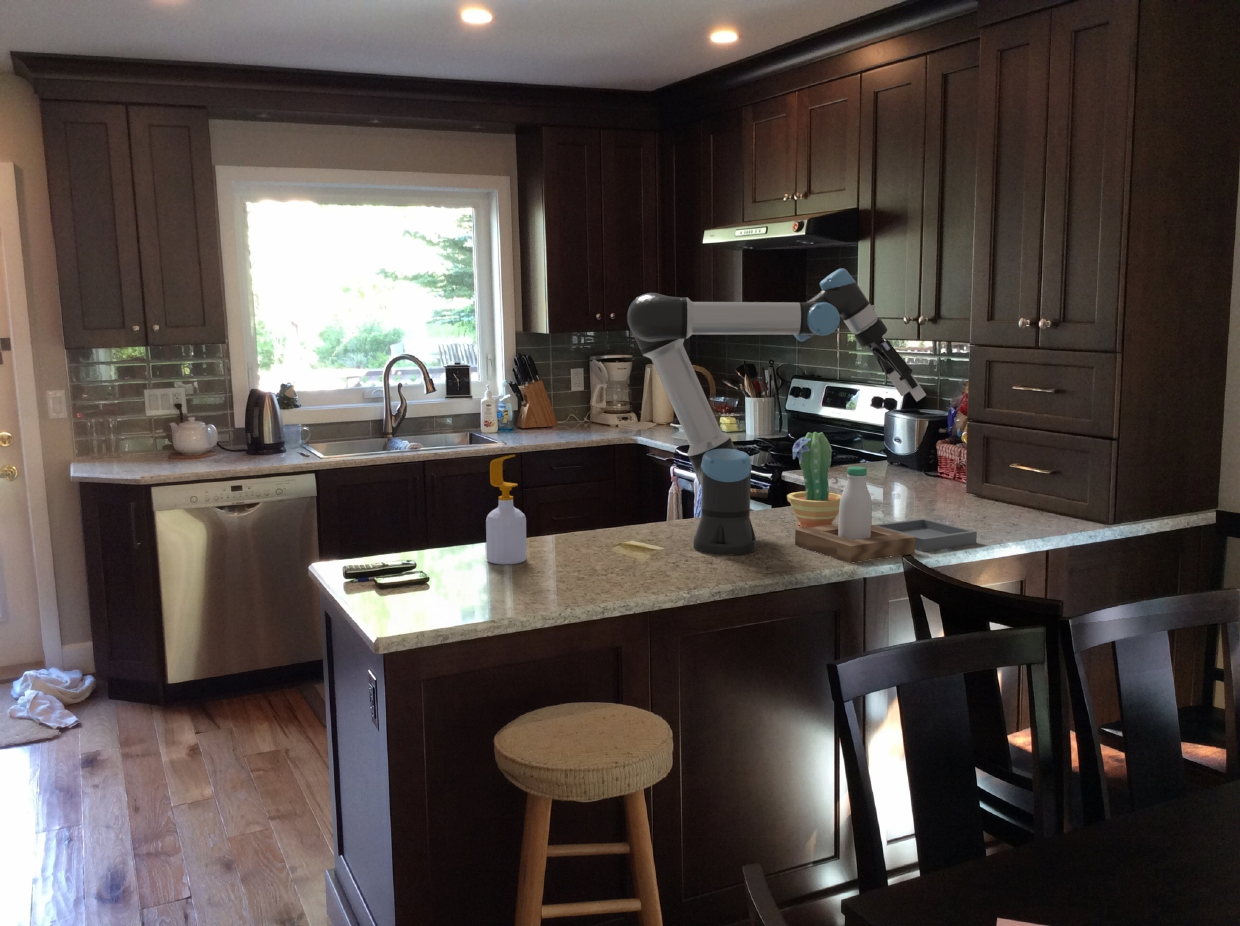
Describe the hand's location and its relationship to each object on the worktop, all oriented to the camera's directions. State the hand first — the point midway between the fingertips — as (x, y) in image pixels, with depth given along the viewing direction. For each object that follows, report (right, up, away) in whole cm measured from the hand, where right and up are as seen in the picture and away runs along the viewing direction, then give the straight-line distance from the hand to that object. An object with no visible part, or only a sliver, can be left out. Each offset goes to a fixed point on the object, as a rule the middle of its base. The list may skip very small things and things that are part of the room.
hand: (913, 395), depth 263 cm
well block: (-17, -38, -8) cm, 42 cm away
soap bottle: (-99, -39, -20) cm, 109 cm away
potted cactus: (-21, -34, +18) cm, 44 cm away
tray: (+3, -36, +2) cm, 36 cm away
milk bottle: (-17, -38, -8) cm, 42 cm away
